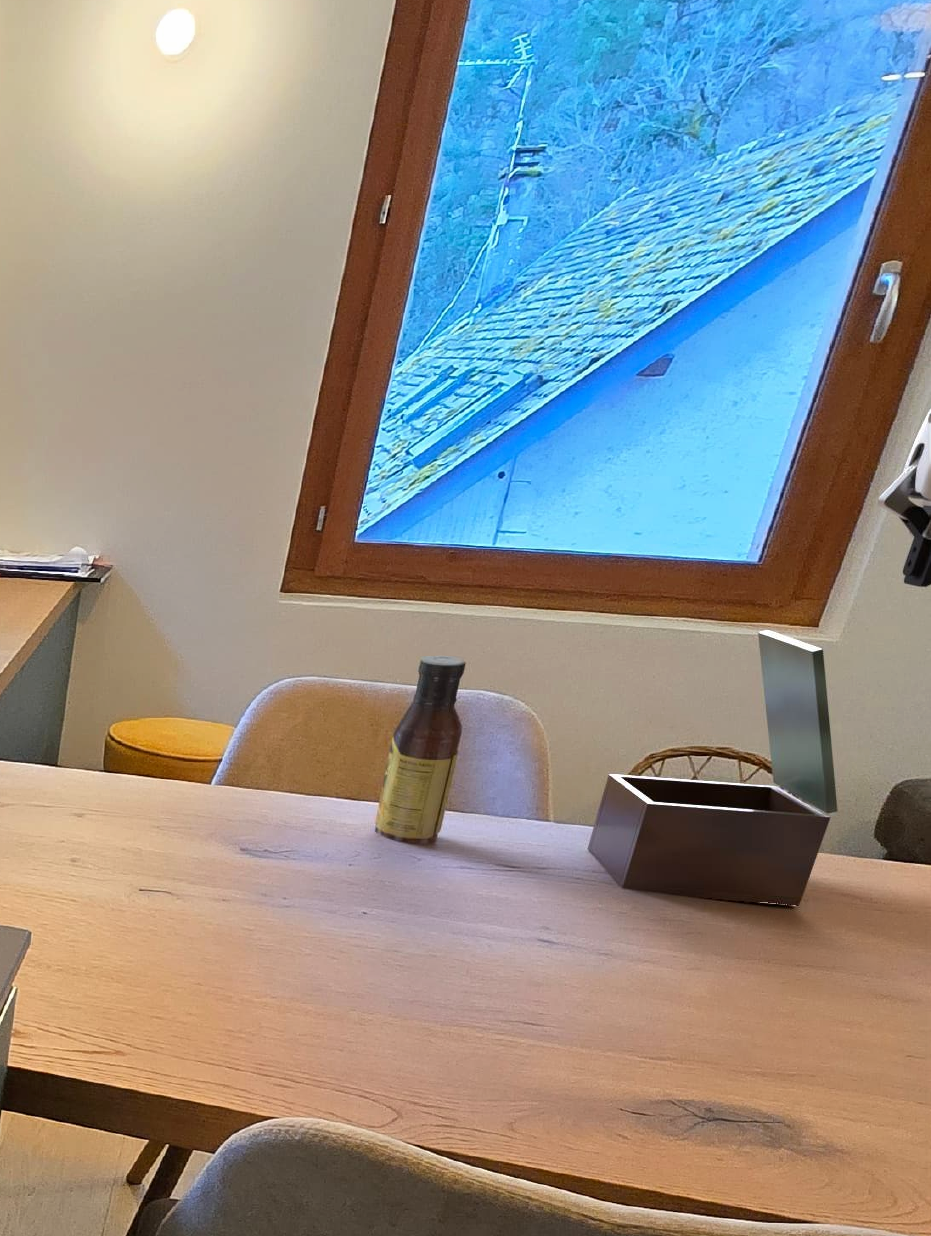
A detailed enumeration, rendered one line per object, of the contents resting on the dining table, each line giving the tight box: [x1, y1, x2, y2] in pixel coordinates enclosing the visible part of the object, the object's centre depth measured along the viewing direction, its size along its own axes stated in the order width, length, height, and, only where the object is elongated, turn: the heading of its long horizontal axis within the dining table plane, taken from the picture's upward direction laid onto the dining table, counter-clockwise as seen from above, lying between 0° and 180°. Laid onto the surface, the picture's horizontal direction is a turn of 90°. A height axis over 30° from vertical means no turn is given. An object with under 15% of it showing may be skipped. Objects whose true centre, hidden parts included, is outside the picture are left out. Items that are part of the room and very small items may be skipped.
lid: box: [757, 629, 838, 815], centre depth 127 cm, size 15×12×1 cm
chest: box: [587, 773, 831, 907], centre depth 133 cm, size 15×12×9 cm
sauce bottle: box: [374, 655, 466, 845], centre depth 141 cm, size 7×6×20 cm
